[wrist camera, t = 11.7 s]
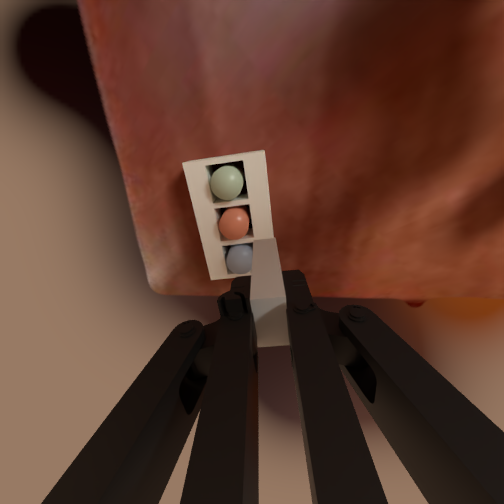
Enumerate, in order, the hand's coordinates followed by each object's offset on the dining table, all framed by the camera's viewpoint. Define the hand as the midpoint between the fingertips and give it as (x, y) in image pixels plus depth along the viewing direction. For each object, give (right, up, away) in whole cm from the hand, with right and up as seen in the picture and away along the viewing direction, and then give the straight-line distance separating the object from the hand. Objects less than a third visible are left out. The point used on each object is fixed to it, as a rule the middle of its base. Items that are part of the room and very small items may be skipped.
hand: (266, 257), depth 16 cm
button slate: (-3, +1, +28) cm, 29 cm away
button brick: (-4, +7, +26) cm, 27 cm away
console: (-4, +7, +26) cm, 27 cm away
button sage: (-5, +13, +23) cm, 27 cm away
